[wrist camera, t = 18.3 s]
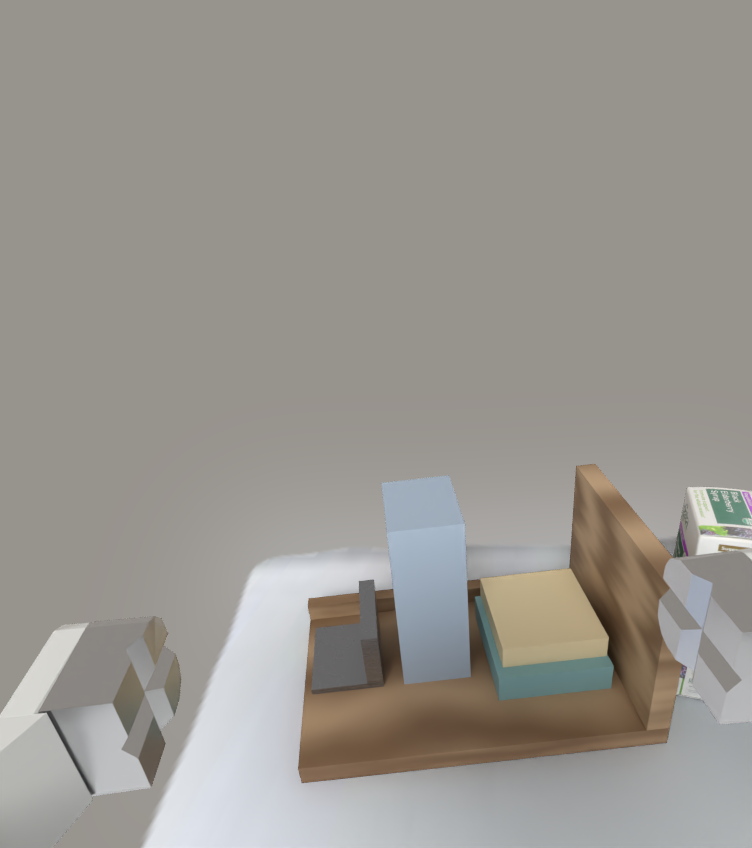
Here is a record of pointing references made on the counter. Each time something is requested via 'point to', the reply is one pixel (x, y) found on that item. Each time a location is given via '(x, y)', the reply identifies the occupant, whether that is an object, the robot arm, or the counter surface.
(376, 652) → the bookend
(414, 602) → the light blue upright block
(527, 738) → the shelf
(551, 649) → the book stack
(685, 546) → the syrup box
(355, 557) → the counter surface
